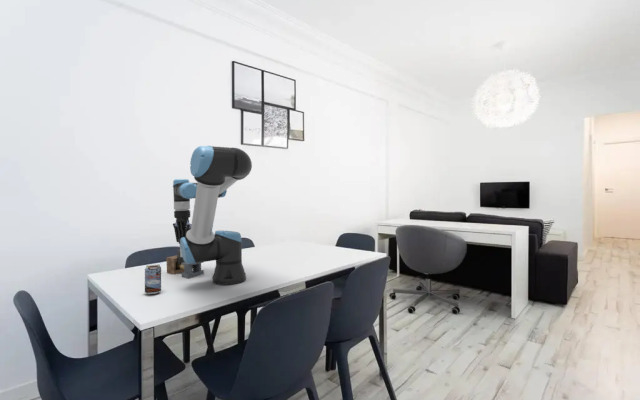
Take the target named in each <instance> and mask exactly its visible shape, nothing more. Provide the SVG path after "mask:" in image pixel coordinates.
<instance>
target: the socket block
mask: <svg viewBox="0 0 640 400" xmlns="http://www.w3.org/2000/svg"><path fill="white" fill-rule="evenodd" d="M165 261H166V273H167V274H168V275H169V274H170V275H178V274H182V273H184V269H180V268H176V263H175V262H177V255H173V256H167V257H166V260H165Z"/></svg>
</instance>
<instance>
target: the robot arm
mask: <svg viewBox="0 0 640 400" xmlns="http://www.w3.org/2000/svg"><path fill="white" fill-rule="evenodd" d="M189 164H190V166H189V169H190V174H191V176H193V178H194V180H195V182H190V180H189V178H188V179H186V178H179V179H173V181H172V182H173V183H172V188H173V189H172V190H173V193H172V194H173V218H175V222H174V223H173V224H172V226H173V230H174V235H175V241H176V243H178V244H179V250H180V257H183V259H184V261H185V263H187V264H193V263H195V264H196V263H200V262H203V263H205V262H212V261H215V267H214V272H213V274H212V278H211V279H212V280H211V281H212V283H213V284H214V285H218V286H219V285H220V286H228V285H237V284H241V283H243V282H245V281H246V280H247V275H246V272H245V268H244V265H243V262H242V261H243V257H242V250H243V248H242V247H243V246H242V243H243V241H242V235H241V233H240V232H238V231H232V230H215V232H213V227H214V222H215V216H216V209H217V204H218V199H219V198H225V196H226V195H227V192H228V191H227V190H228V189H229V188H231V187H232V186H233V185H234V184H235V183H236V182H237V181H241V180H244V179H245V178H246V177H247V176H249V175H250V173H251V171H252V167H253V165H252V164H253V162H252V160H251V158H250V156H249V155H248V153H247V152H245V151H244V150H243V149H240V148H238V147H227V146H225V147H224V146H213V145H200V146H197V147H196V148H195V149H194V150H193V152H192V154H191V158H190V163H189ZM192 199H194V205H193V211H192V217H191V210H190V209H191V200H192ZM190 217H191V218H192V219H191V223H190V220H189V218H190Z"/></svg>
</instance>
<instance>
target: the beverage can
mask: <svg viewBox="0 0 640 400" xmlns="http://www.w3.org/2000/svg"><path fill="white" fill-rule="evenodd" d="M161 291H162V266H161V265H160V264H158V263H157V264H156V263H155V264H147V265H146V267H144V293H146V294H147V295H153V294H154V295H155V294H160V292H161Z"/></svg>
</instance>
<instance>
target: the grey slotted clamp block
mask: <svg viewBox="0 0 640 400" xmlns="http://www.w3.org/2000/svg"><path fill="white" fill-rule="evenodd" d="M203 263H204V262H200V263H196V264H195V263H193V264H187V263H185V262H184V263H181V265H184V272H182V273H181V278H184V279H188V280H189V279H192V278H195V277H200V276H202V275H204V274H205V273H204V272H205V271H204V270H202V264H203ZM192 265H193V268H192Z"/></svg>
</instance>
